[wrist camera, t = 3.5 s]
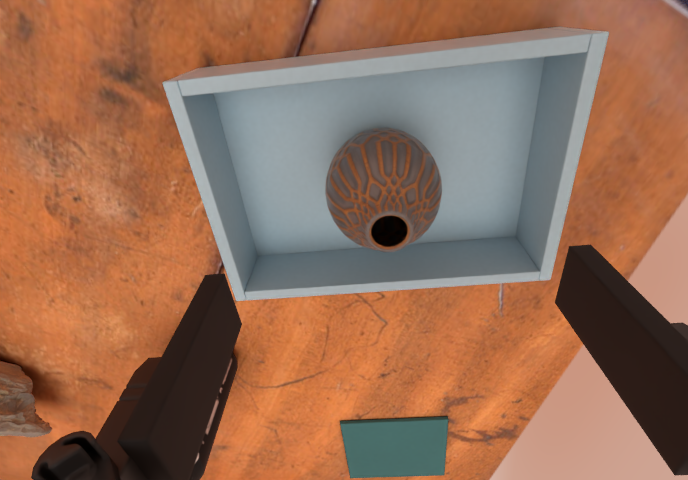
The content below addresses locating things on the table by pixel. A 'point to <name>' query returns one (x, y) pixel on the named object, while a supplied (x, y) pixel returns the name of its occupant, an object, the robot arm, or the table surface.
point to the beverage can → (214, 420)
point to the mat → (395, 446)
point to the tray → (406, 115)
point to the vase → (383, 189)
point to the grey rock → (18, 404)
